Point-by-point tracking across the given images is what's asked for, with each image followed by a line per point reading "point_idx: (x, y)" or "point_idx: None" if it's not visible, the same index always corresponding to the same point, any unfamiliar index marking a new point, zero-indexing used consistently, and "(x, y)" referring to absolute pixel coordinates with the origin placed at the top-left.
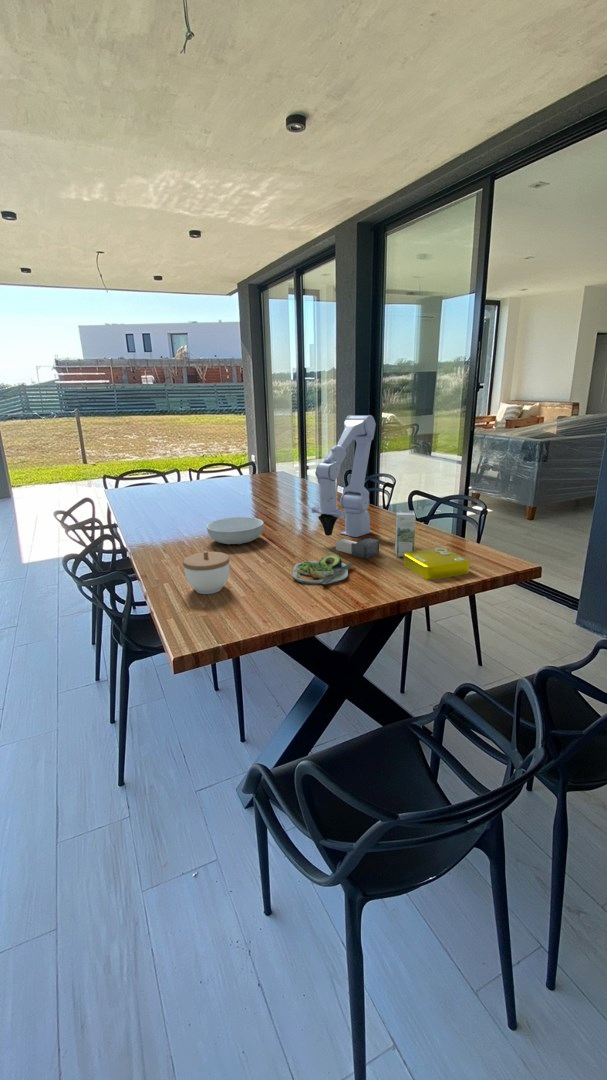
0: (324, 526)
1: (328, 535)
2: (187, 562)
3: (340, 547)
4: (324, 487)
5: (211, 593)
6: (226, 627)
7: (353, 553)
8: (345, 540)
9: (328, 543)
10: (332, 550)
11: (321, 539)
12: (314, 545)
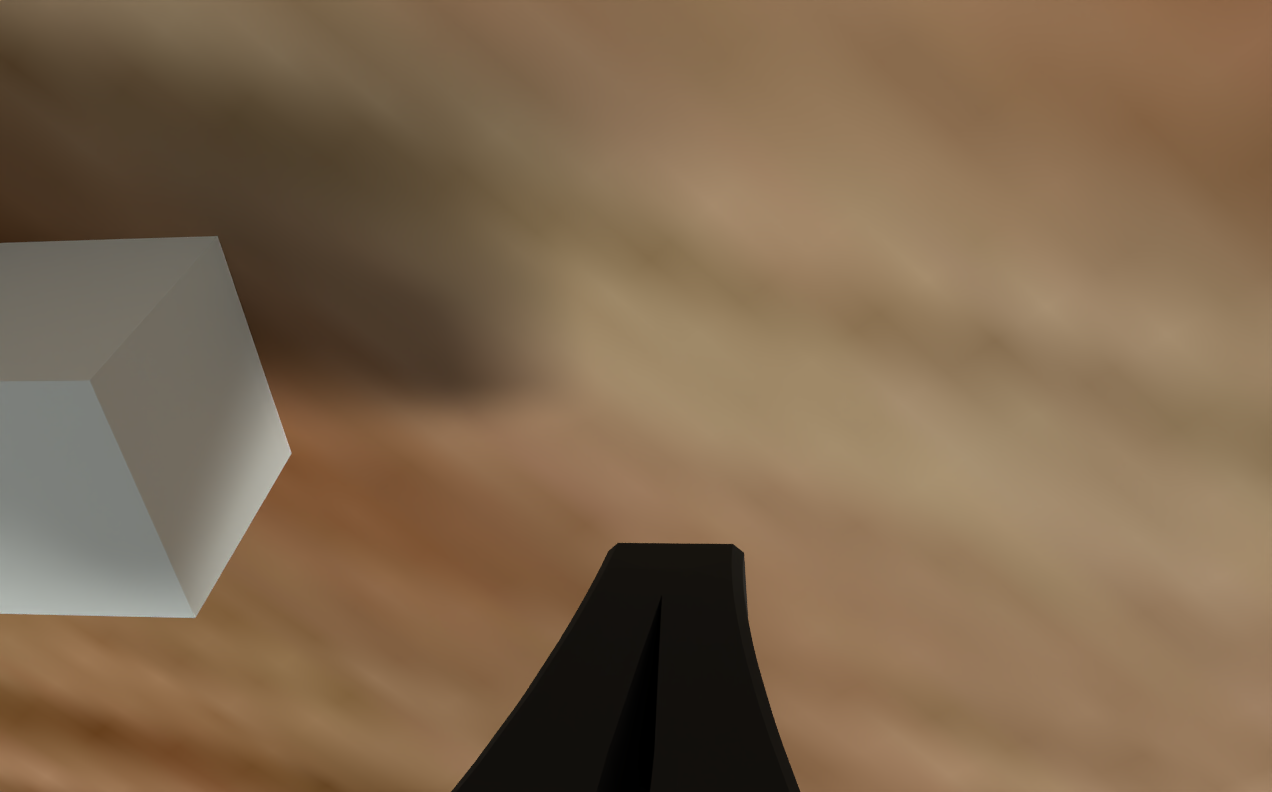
0: (668, 786)
1: (607, 562)
2: None
3: (9, 289)
4: None
5: None
6: None
7: None
8: (1, 555)
9: (794, 474)
10: (217, 136)
11: (1194, 590)
12: (982, 113)
